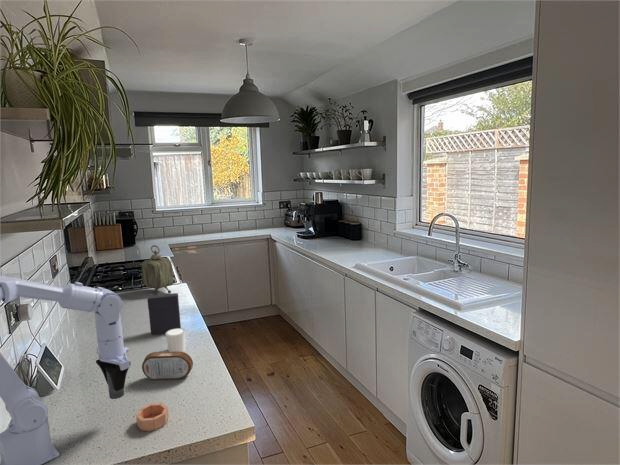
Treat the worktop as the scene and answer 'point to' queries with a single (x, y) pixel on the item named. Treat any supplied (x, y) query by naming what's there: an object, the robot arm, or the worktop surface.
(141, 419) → the cup
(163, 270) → the tabletop clock
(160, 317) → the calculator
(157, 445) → the worktop surface
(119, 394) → the cell
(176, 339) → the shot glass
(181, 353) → the tin
